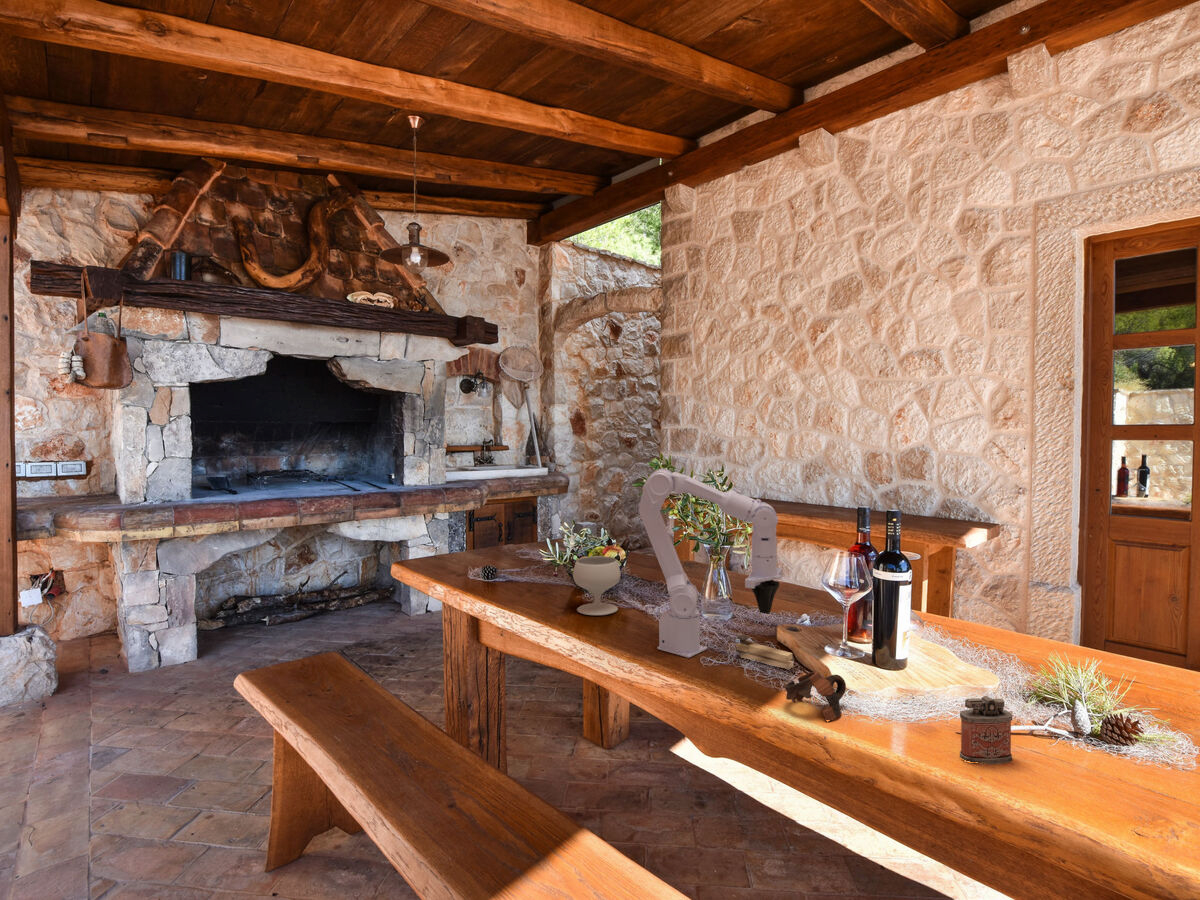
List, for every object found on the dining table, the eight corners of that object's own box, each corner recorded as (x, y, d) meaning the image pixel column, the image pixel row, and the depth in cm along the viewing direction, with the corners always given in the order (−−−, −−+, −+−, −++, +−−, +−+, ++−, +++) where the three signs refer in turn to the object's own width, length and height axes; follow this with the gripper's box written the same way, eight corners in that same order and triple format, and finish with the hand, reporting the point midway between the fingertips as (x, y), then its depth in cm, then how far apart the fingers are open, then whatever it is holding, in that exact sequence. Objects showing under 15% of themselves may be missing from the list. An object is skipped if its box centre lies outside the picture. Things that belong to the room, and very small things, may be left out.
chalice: (573, 618, 184) (572, 566, 183) (573, 604, 198) (572, 555, 197) (622, 616, 185) (621, 564, 184) (619, 603, 199) (618, 554, 198)
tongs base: (733, 657, 152) (733, 636, 151) (740, 653, 154) (740, 633, 154) (787, 671, 142) (787, 649, 142) (794, 667, 145) (794, 646, 145)
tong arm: (736, 649, 151) (736, 643, 151) (745, 645, 153) (745, 639, 153) (785, 663, 142) (785, 656, 142) (793, 658, 144) (793, 652, 144)
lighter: (1003, 752, 107) (1003, 692, 106) (1017, 763, 103) (1017, 701, 103) (955, 754, 106) (955, 694, 106) (967, 765, 103) (967, 703, 103)
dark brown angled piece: (819, 730, 116) (796, 686, 119) (792, 732, 125) (771, 690, 127) (867, 701, 121) (843, 659, 123) (837, 704, 129) (816, 664, 132)
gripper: (764, 562, 144) (765, 623, 145) (794, 552, 155) (794, 608, 156) (736, 558, 149) (737, 617, 150) (767, 548, 160) (768, 603, 160)
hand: (764, 612), depth 153 cm, fingers closed
